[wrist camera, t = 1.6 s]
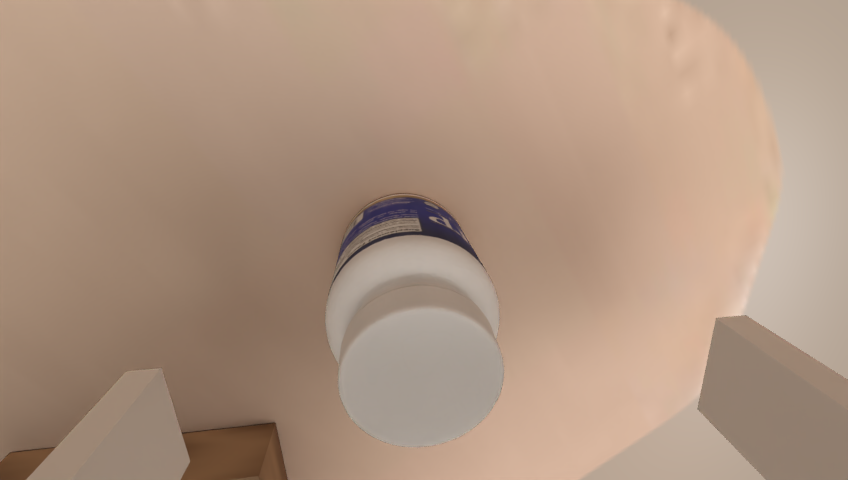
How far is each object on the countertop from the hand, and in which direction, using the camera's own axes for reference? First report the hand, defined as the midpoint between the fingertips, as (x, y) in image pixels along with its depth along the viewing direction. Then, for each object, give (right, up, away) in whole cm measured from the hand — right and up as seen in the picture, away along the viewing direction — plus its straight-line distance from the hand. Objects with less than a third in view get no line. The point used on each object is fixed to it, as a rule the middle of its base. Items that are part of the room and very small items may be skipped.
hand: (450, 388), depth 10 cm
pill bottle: (-2, +3, +8) cm, 9 cm away
